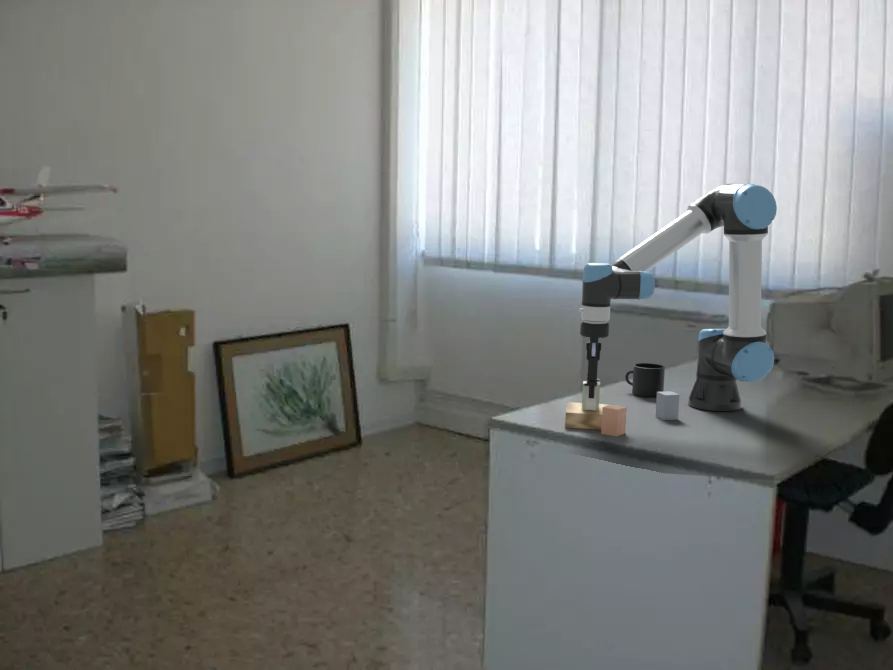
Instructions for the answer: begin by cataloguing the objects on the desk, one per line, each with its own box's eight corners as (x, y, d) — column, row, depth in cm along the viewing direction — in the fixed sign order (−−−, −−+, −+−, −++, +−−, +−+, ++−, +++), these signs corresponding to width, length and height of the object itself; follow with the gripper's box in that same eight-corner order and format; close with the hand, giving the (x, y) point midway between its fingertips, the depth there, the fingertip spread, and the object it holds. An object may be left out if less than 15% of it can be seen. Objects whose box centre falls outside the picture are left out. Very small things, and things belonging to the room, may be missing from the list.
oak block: (614, 419, 282) (614, 404, 281) (614, 430, 269) (615, 415, 268) (566, 416, 283) (567, 402, 283) (565, 427, 271) (565, 412, 270)
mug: (629, 389, 323) (630, 361, 321) (666, 393, 317) (668, 365, 316) (620, 394, 314) (621, 365, 313) (658, 399, 309) (660, 369, 308)
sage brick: (598, 407, 277) (600, 381, 276) (598, 410, 273) (600, 385, 272) (582, 406, 278) (583, 380, 277) (581, 409, 274) (582, 384, 273)
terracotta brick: (609, 430, 269) (611, 404, 268) (625, 433, 266) (626, 407, 265) (601, 433, 265) (602, 407, 264) (616, 436, 262) (618, 409, 261)
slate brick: (669, 415, 288) (671, 391, 287) (677, 419, 283) (679, 394, 282) (655, 416, 286) (656, 391, 285) (663, 420, 282) (664, 395, 281)
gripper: (581, 316, 281) (577, 400, 285) (580, 325, 264) (575, 413, 267) (609, 317, 280) (604, 401, 283) (609, 326, 263) (604, 415, 266)
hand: (590, 407), depth 275 cm, fingers closed on sage brick, 4 cm apart
